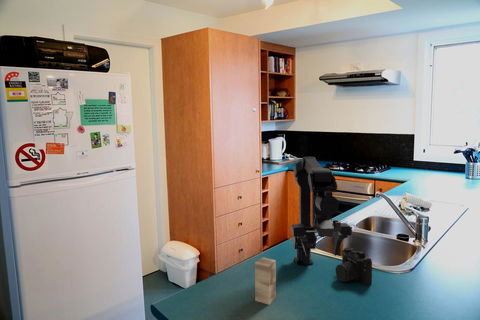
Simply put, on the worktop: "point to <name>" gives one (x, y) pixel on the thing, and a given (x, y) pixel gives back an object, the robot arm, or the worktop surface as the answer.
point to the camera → (354, 267)
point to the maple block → (265, 280)
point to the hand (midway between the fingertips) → (320, 255)
